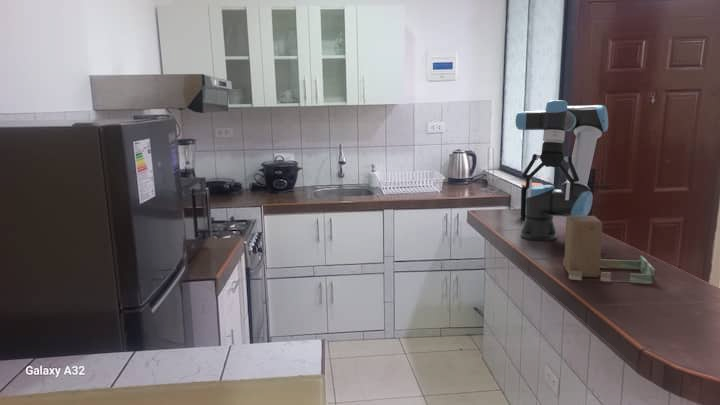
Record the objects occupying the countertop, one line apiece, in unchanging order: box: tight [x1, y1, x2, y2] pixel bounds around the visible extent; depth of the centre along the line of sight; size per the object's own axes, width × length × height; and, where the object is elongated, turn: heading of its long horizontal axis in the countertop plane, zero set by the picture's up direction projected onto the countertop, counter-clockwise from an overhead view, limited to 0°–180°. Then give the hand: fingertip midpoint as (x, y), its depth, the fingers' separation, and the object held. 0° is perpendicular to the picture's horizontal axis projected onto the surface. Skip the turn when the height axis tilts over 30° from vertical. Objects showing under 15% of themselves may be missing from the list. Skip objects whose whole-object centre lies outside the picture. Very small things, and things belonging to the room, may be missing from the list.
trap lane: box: [568, 255, 656, 285], centre depth 171 cm, size 15×26×5 cm, turn 74°
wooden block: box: [563, 215, 603, 278], centre depth 171 cm, size 10×10×20 cm
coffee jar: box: [520, 182, 544, 220], centre depth 252 cm, size 11×11×18 cm
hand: (547, 198), depth 184 cm, fingers open, 13 cm apart
